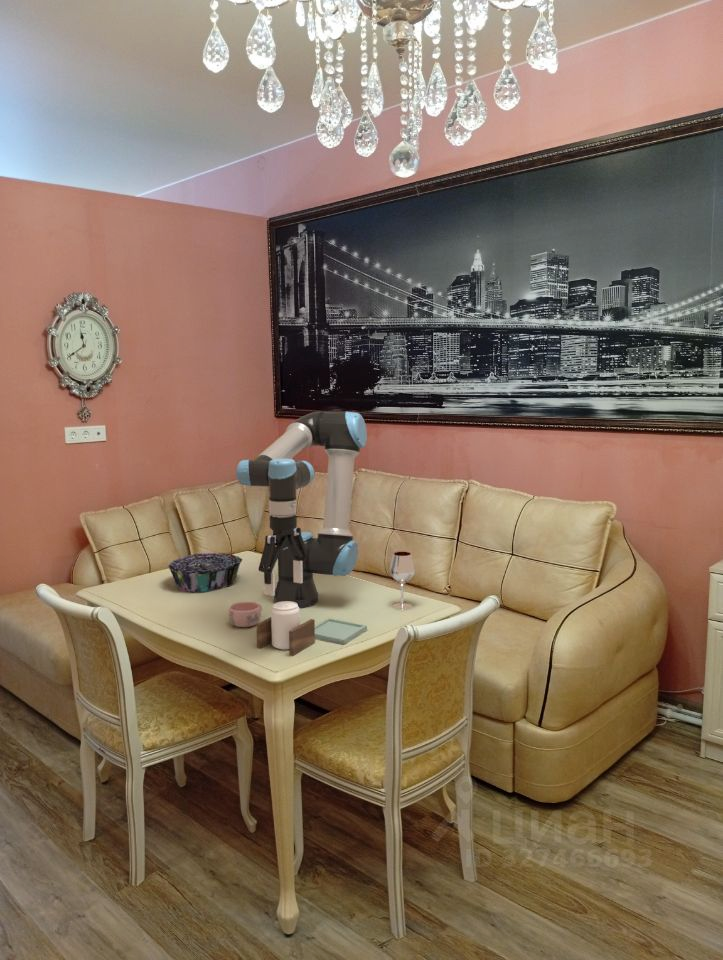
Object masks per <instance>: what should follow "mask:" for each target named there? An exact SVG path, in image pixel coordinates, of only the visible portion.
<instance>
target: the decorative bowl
mask: <svg viewBox="0 0 723 960" xmlns="http://www.w3.org/2000/svg"><path fill="white" fill-rule="evenodd" d="M242 562H243V558H241V557H240V556H237V555H235V554H231V553H218V552H204V553H201V552H200V553H194V554H191V555H186V556H183V557H180V558H177V559H174V560H172V561H170V562H169V564H168V565H167V567H168V569H169V571H170V573H171V575H172V576H173V580H174V582H175V584H176V586H177V588H178V589H180V590H182V591H185V592H187V591H188V592H189V593H207V592H211V591H214V590H215V591H217V590H221V589H222V588H226V587H227V588H228V587H231V586H232V585H234V582H235V580H236V578H237V575H238V572H239V569H240V566H241V563H242Z"/></svg>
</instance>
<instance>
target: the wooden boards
mask: <svg viewBox="0 0 723 960" xmlns="http://www.w3.org/2000/svg"><path fill="white" fill-rule="evenodd" d="M255 625H256V648H257V649H260V650H261V649H262V648H265V647H266V646H268V645H270V644H272V627H271V616H270V617H268V618H266V619H264V620H262V621H260V622H258V623H257V624H255ZM315 625H316V624H315V619H314V618H313V619H312V618H311V619H308V620H307V621H304V622H303V623H300V625H299V626H297V627H296V628H294V629H292V630H290V631H289V649H288V650H289V656H292V657H294V656H296V655H297V654H299V653H301V652H302V651H304V650H306V649H307V648H309V647H310V646H312V645H314V644H315V643H316V639H315Z"/></svg>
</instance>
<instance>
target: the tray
mask: <svg viewBox="0 0 723 960" xmlns="http://www.w3.org/2000/svg"><path fill="white" fill-rule="evenodd" d="M366 631H368V625H367V624H362V623H357V622H353V621H348V620H341V619H335V618H332V617H328V618H326V619H324V620H322V621H321V622H318V623H317V624H315V640H319V641H324V642H327V643H328V642H329V643H334V644H337V645H343V646H344V645H347V644H348V643H350V642H351V641H352V640H354V639H356V638H357V637H359V636H360V635H362V634H363V633H365V632H366Z"/></svg>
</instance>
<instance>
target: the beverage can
mask: <svg viewBox="0 0 723 960" xmlns="http://www.w3.org/2000/svg"><path fill="white" fill-rule="evenodd" d="M300 613H301V609H300V608H299V607H298V604H297V603H295V602H291V601H283V602H277V603H273V604H272V607H271V610H270V617H271V627H272V643H271V645H272V646H273V647H274V648H276V649H279V650H283V651H284V650H289V631H290V630H292V629H294V628H296V627H297V626H299V625H301V616H300V615H301V614H300Z"/></svg>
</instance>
